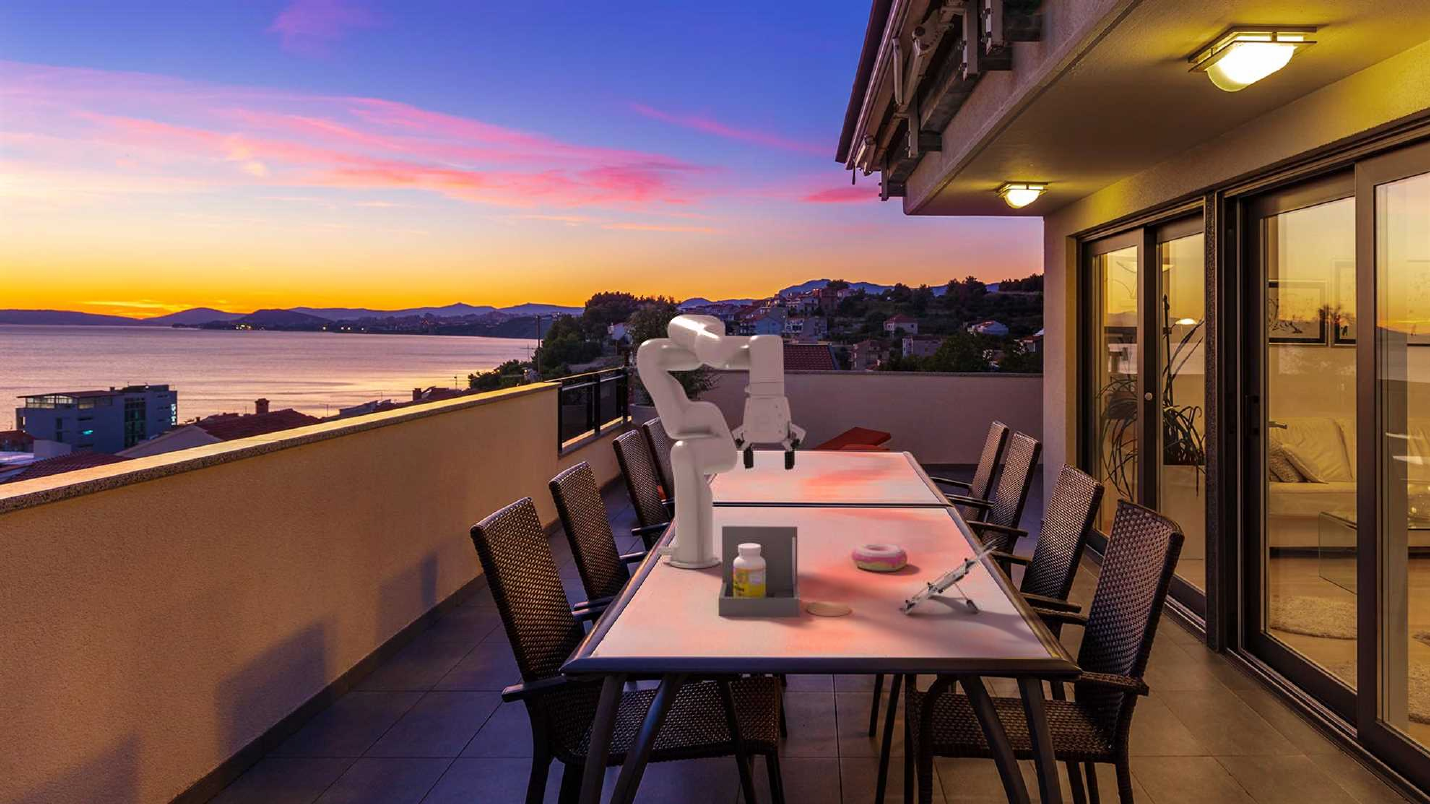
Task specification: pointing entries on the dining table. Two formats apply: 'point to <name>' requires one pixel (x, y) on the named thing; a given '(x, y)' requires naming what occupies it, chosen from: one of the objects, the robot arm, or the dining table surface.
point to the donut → (879, 557)
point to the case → (779, 571)
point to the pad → (828, 608)
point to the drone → (952, 580)
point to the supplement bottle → (749, 572)
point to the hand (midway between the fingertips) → (768, 468)
